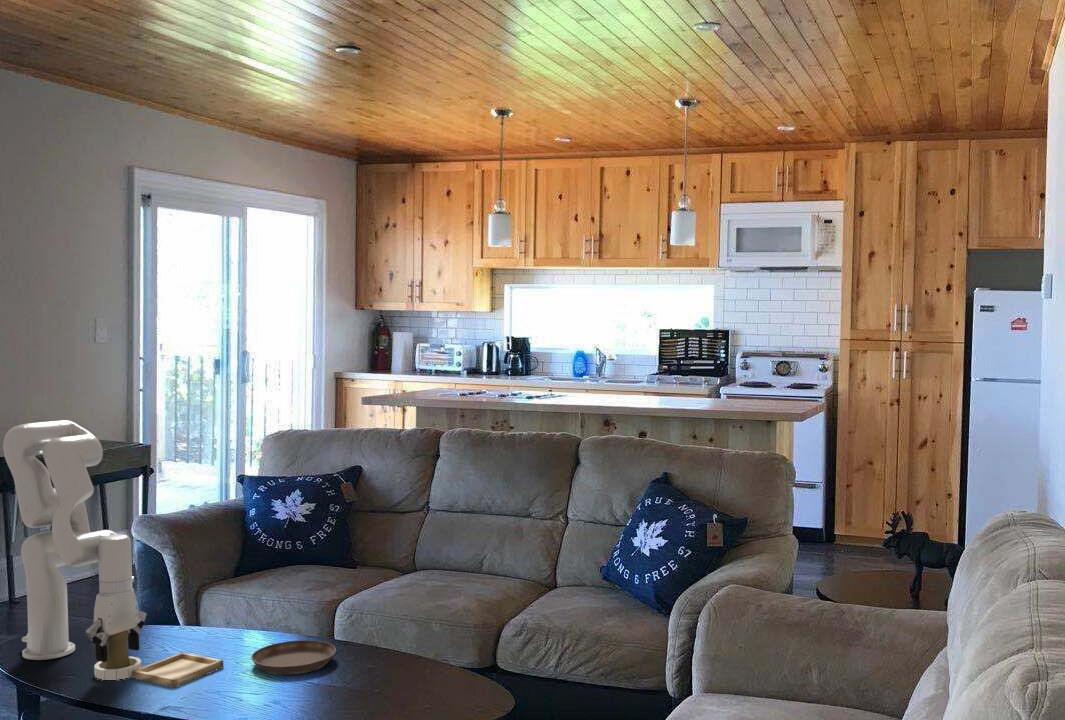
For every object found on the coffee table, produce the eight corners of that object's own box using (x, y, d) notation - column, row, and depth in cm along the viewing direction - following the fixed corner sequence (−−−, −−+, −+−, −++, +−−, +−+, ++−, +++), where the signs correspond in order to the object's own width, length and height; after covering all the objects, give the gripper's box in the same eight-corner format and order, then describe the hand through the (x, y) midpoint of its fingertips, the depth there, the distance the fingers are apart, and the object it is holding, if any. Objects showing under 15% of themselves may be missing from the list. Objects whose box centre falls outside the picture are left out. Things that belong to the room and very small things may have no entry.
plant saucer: (234, 673, 266) (233, 659, 266) (283, 648, 285) (283, 635, 285) (305, 683, 259) (305, 669, 258) (351, 657, 278) (351, 644, 277)
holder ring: (85, 676, 264) (85, 666, 264) (120, 663, 273) (120, 654, 273) (115, 683, 259) (115, 673, 259) (150, 670, 268) (150, 660, 268)
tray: (132, 678, 262) (132, 671, 262) (182, 659, 276) (182, 652, 276) (174, 687, 256) (174, 679, 256) (223, 667, 270) (223, 660, 270)
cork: (122, 678, 262) (121, 633, 262) (99, 676, 264) (98, 632, 263) (136, 670, 268) (135, 626, 268) (114, 668, 269) (112, 624, 269)
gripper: (133, 576, 274) (135, 643, 275) (75, 592, 259) (77, 663, 260) (154, 579, 271) (156, 647, 271) (97, 596, 255) (99, 667, 256)
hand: (118, 655), depth 266 cm, fingers open, 9 cm apart
